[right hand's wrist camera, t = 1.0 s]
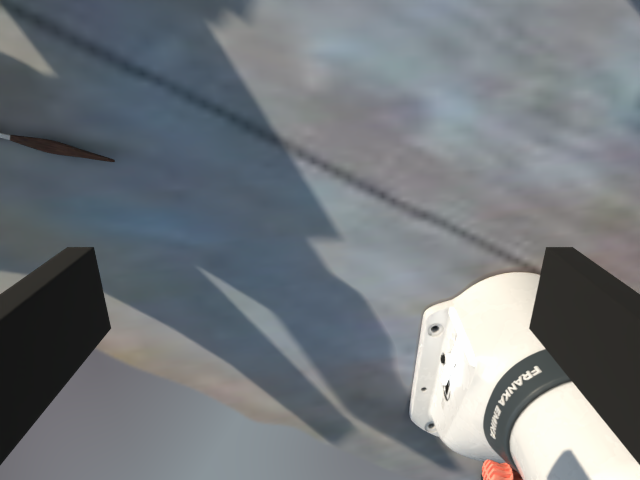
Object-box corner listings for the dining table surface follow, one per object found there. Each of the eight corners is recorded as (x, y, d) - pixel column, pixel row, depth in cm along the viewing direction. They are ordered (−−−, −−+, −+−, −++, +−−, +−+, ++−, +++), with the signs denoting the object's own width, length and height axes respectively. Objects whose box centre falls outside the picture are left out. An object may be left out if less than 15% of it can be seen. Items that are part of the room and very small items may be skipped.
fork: (116, 173, 40) (106, 178, 38) (-65, 133, 38) (-84, 136, 36) (118, 146, 39) (107, 149, 37) (-67, 103, 37) (-88, 105, 35)
